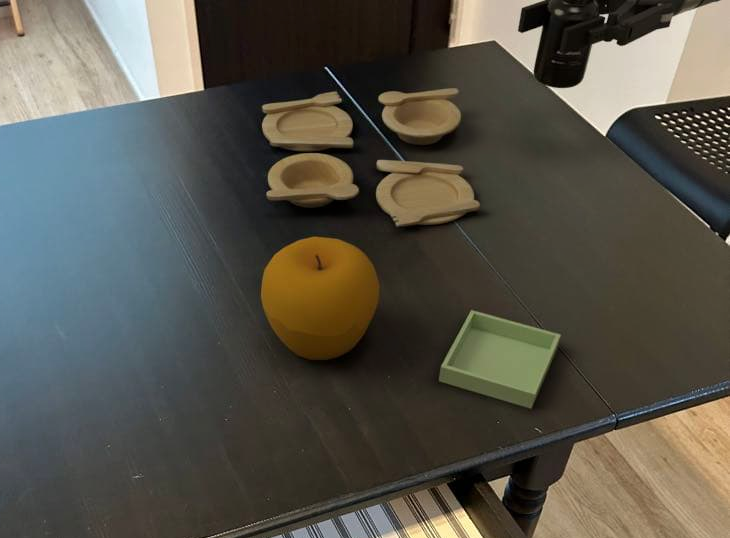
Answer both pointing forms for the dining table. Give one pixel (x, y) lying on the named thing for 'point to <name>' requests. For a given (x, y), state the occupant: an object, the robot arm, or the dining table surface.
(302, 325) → the apple
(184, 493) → the dining table surface
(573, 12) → the supplement bottle
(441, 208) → the tableware set
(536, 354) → the tray
